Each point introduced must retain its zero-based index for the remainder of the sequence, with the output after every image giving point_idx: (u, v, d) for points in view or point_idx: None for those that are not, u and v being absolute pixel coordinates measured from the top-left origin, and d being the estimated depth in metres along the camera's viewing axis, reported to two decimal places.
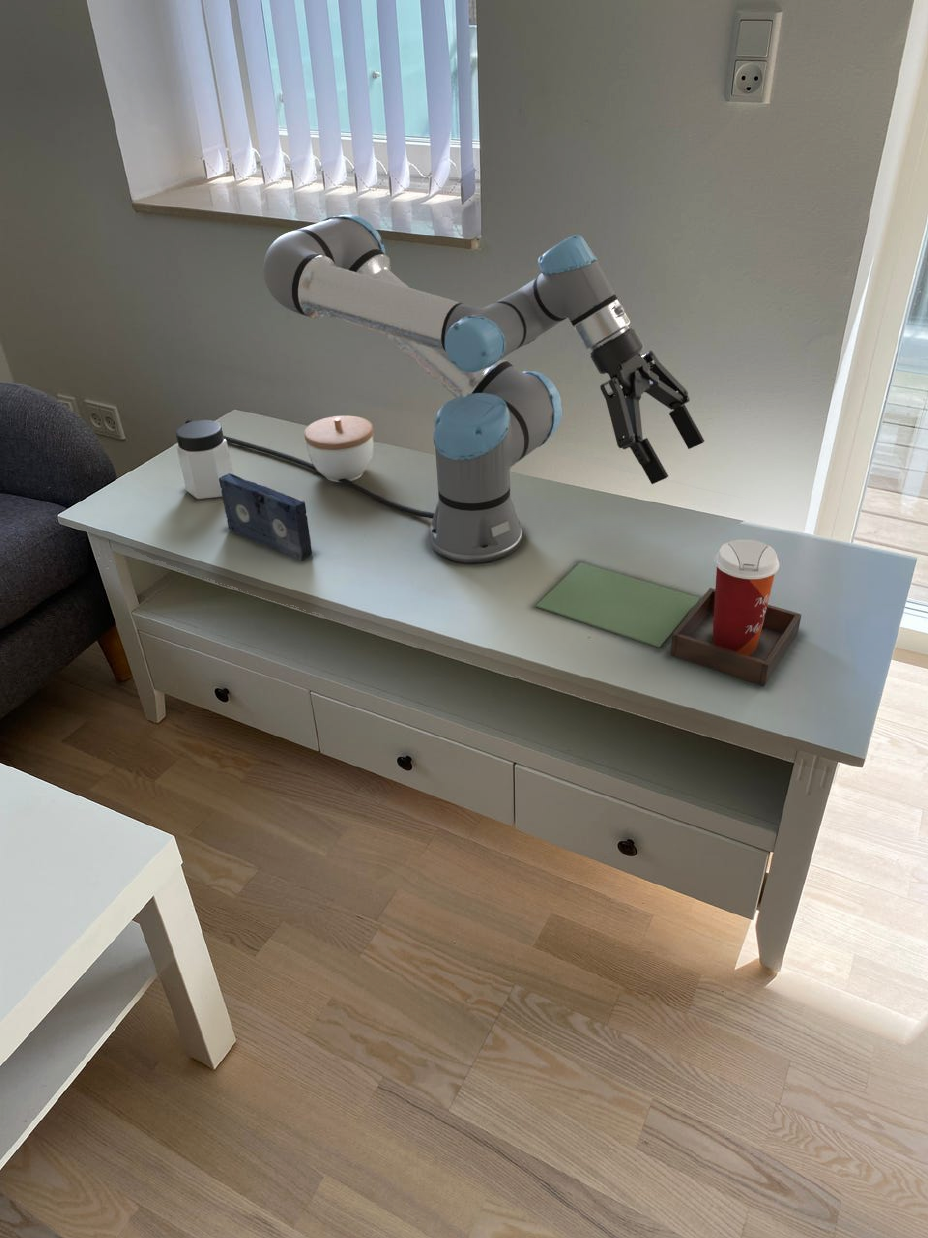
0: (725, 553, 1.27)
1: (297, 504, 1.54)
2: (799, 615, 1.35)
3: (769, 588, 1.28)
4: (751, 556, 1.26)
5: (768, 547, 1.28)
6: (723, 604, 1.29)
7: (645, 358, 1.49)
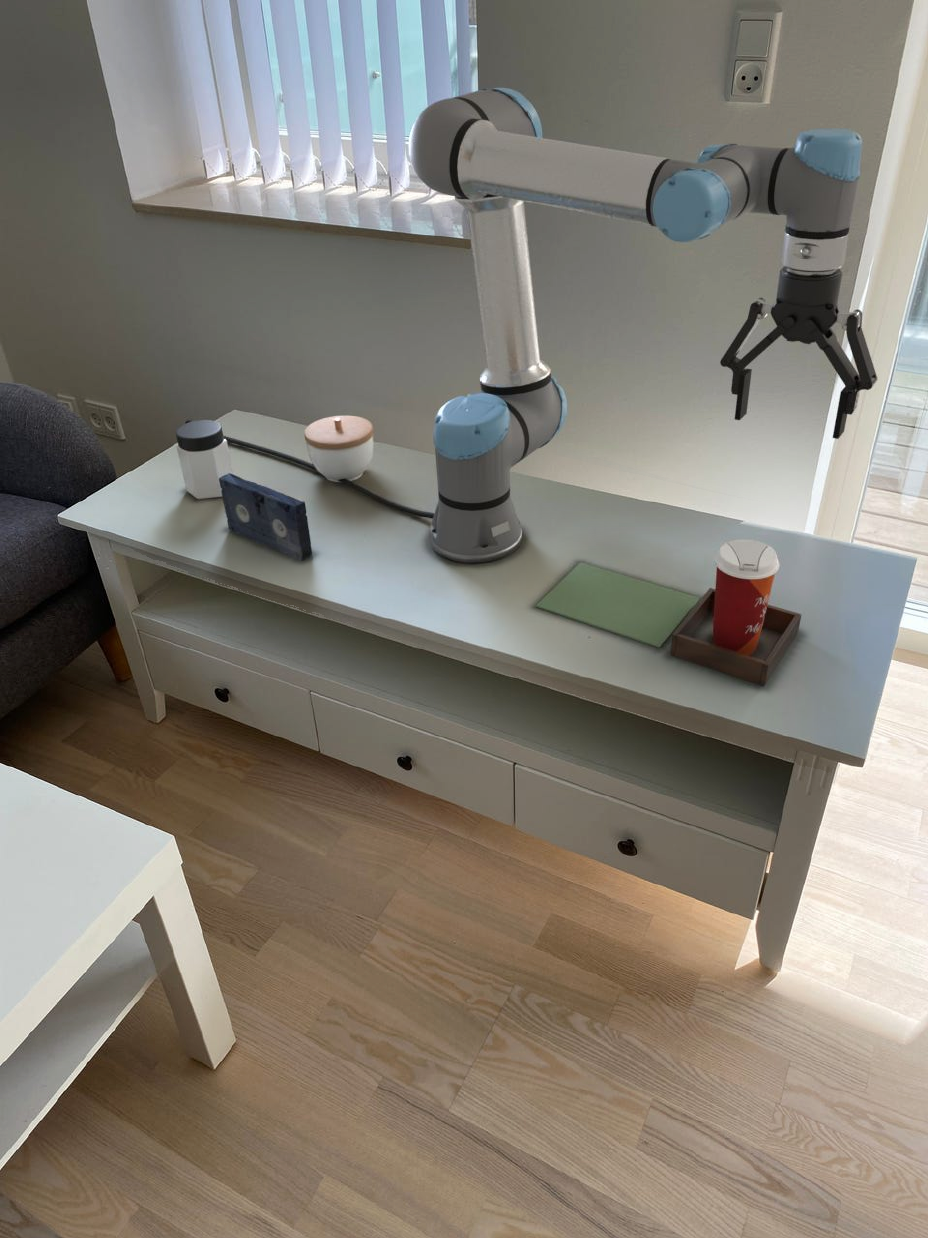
0: (725, 553, 1.27)
1: (297, 504, 1.54)
2: (799, 615, 1.35)
3: (769, 588, 1.28)
4: (751, 556, 1.26)
5: (768, 547, 1.28)
6: (723, 605, 1.29)
7: (845, 317, 1.23)
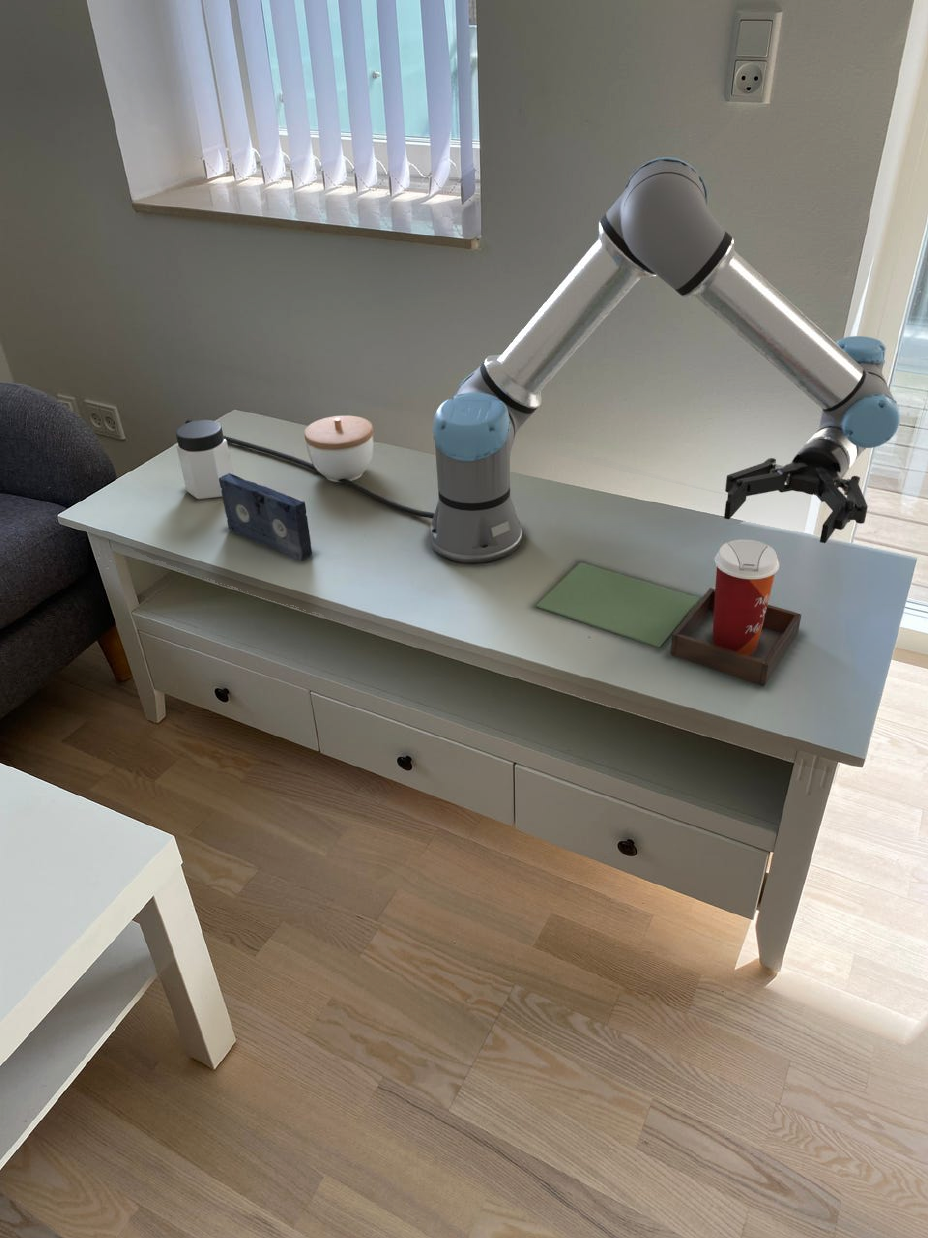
0: (725, 553, 1.27)
1: (297, 504, 1.54)
2: (799, 615, 1.35)
3: (769, 588, 1.28)
4: (751, 556, 1.26)
5: (768, 547, 1.28)
6: (723, 605, 1.29)
7: None
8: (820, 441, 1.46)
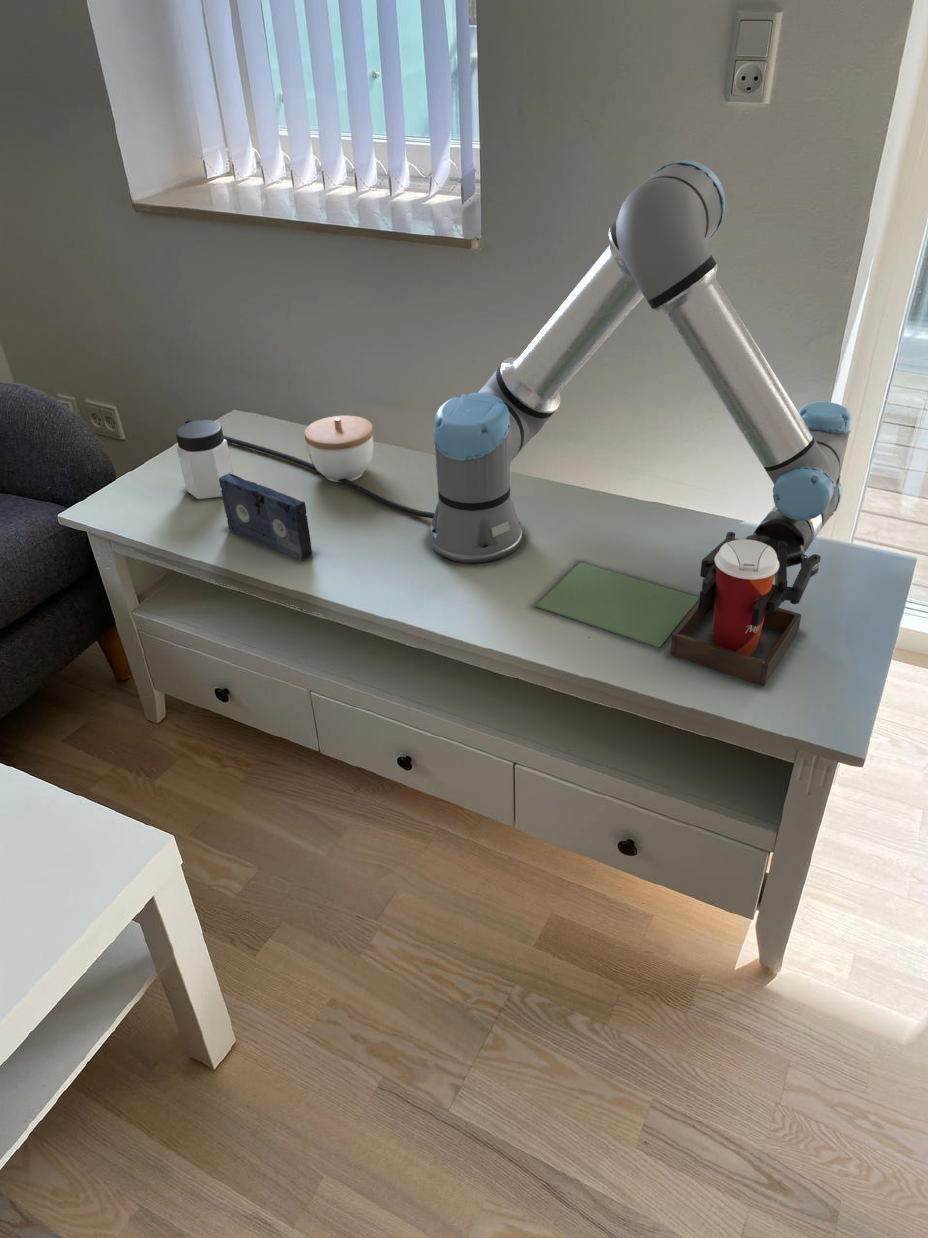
0: (725, 553, 1.27)
1: (297, 504, 1.54)
2: (799, 615, 1.35)
3: (769, 588, 1.28)
4: (751, 556, 1.26)
5: (768, 547, 1.28)
6: (723, 604, 1.29)
7: None
8: None
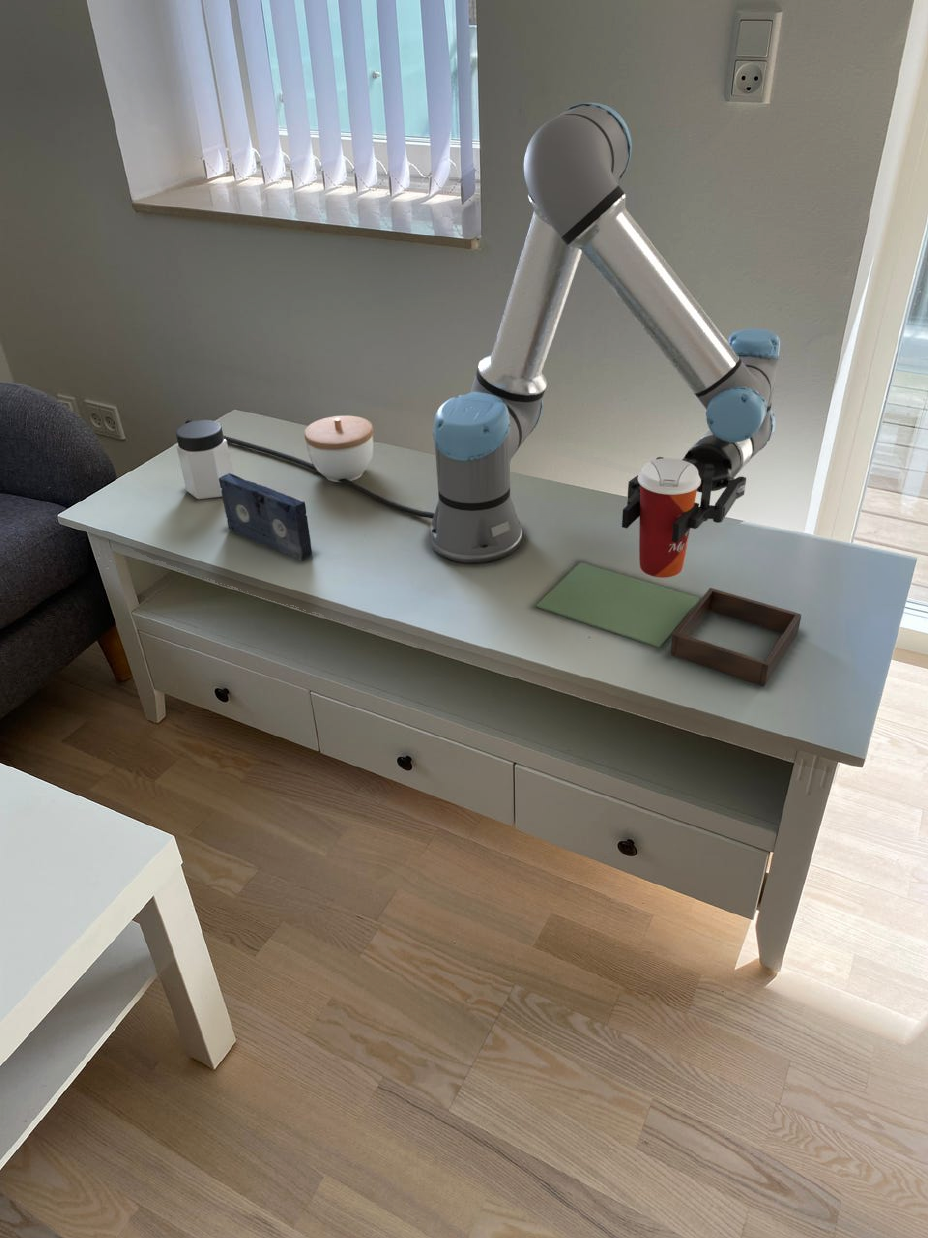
0: (647, 470, 1.28)
1: (297, 504, 1.54)
2: (799, 615, 1.35)
3: (691, 505, 1.28)
4: (672, 473, 1.27)
5: (690, 465, 1.29)
6: (646, 522, 1.30)
7: None
8: (713, 436, 1.41)
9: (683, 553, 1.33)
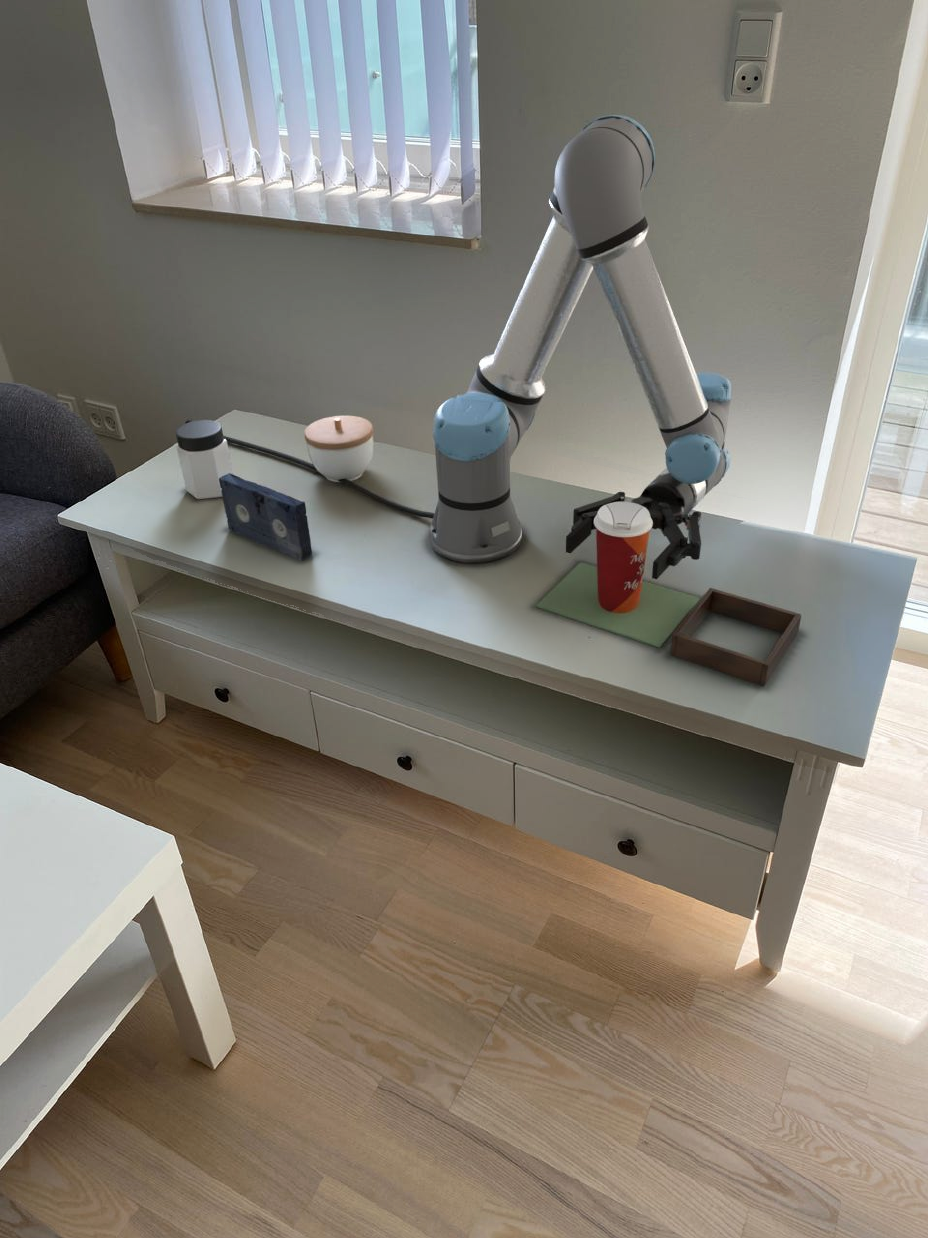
0: (602, 514, 1.36)
1: (297, 504, 1.54)
2: (799, 615, 1.35)
3: (643, 546, 1.37)
4: (626, 516, 1.36)
5: (643, 508, 1.37)
6: (602, 562, 1.39)
7: None
8: (668, 475, 1.49)
9: (638, 590, 1.41)
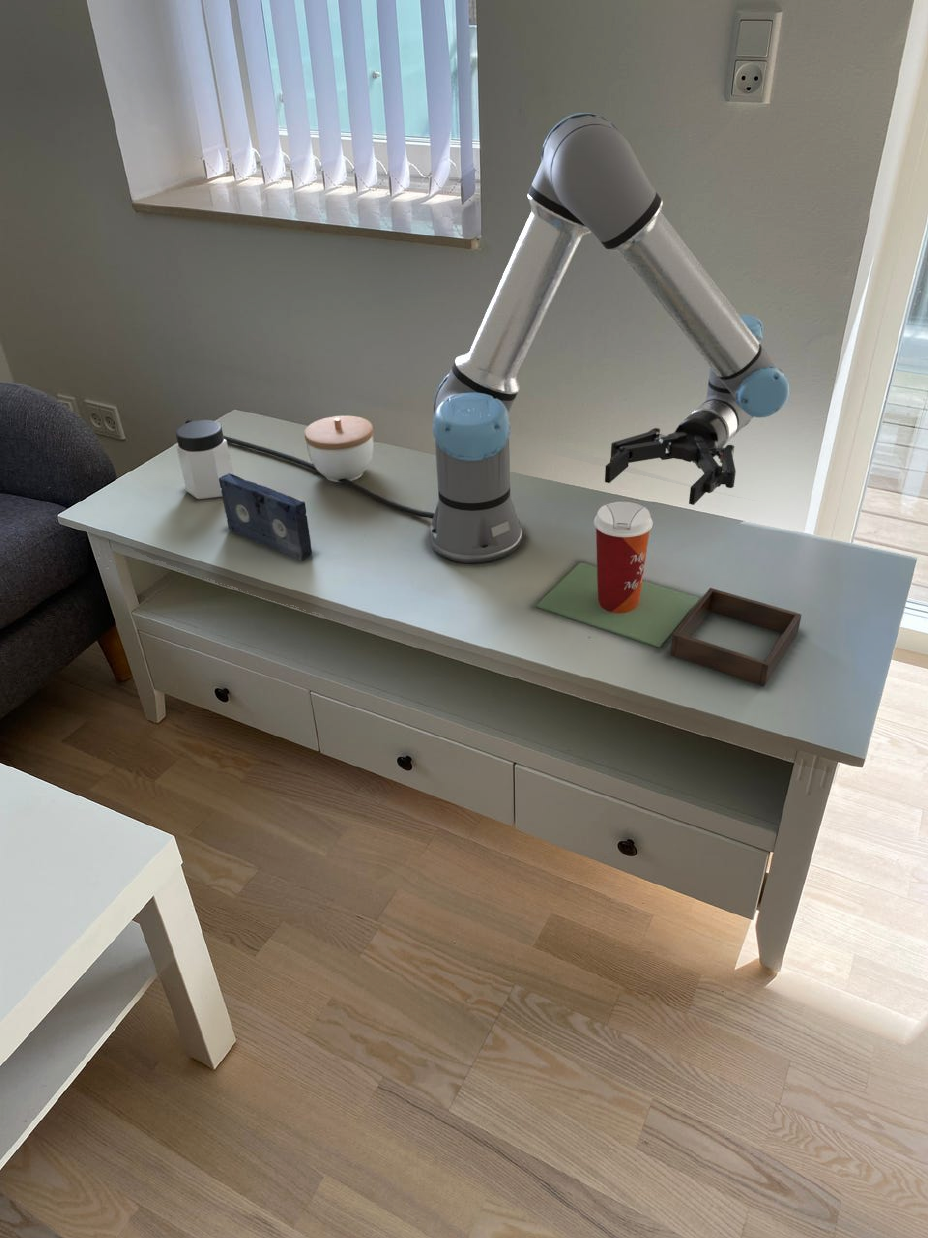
0: (602, 514, 1.36)
1: (297, 504, 1.54)
2: (799, 615, 1.35)
3: (643, 546, 1.37)
4: (626, 516, 1.36)
5: (643, 508, 1.37)
6: (602, 562, 1.39)
7: None
8: (701, 412, 1.55)
9: (638, 590, 1.41)
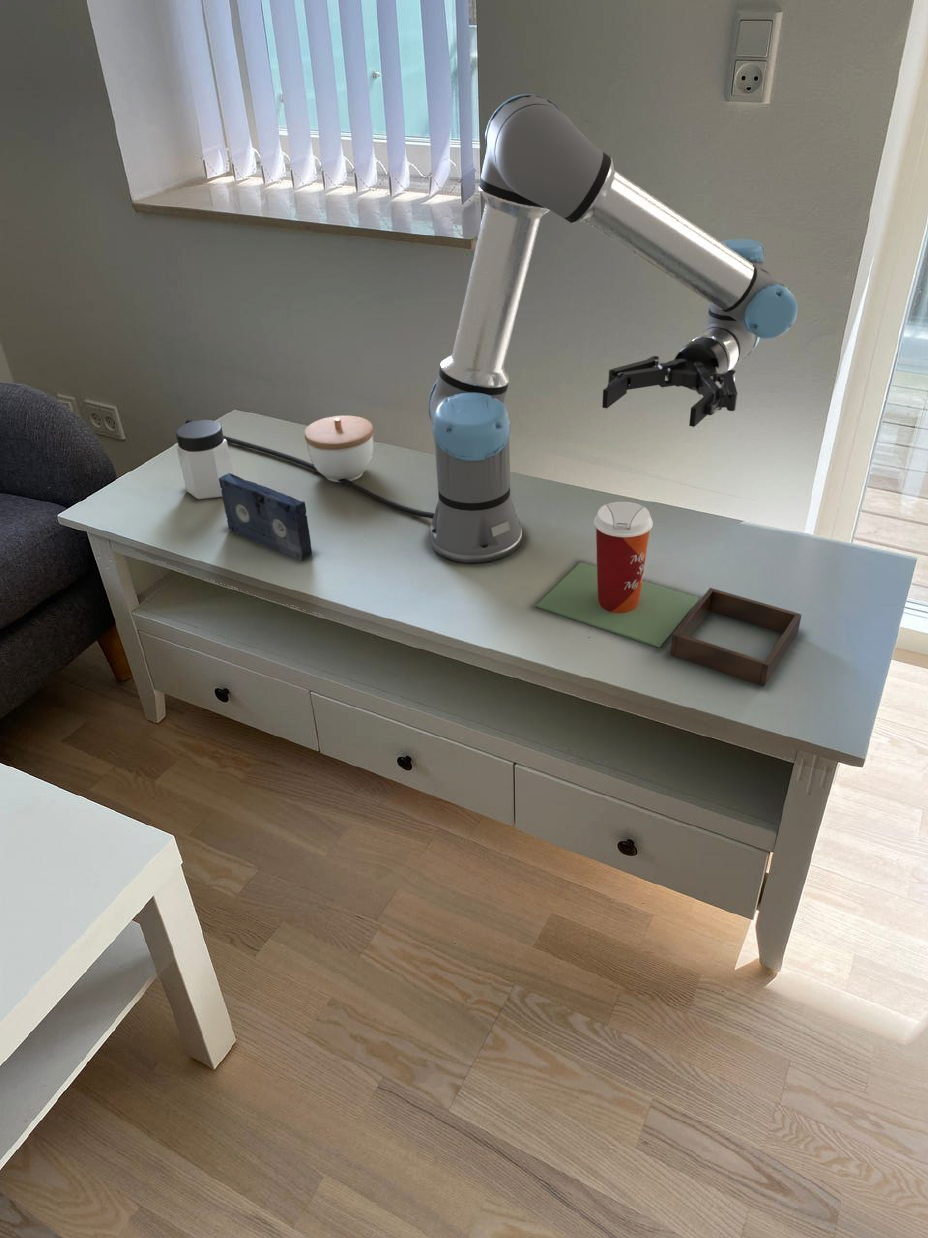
0: (602, 514, 1.36)
1: (297, 504, 1.54)
2: (799, 615, 1.35)
3: (643, 546, 1.37)
4: (626, 516, 1.36)
5: (643, 508, 1.37)
6: (602, 562, 1.39)
7: None
8: (701, 338, 1.51)
9: (638, 590, 1.41)
